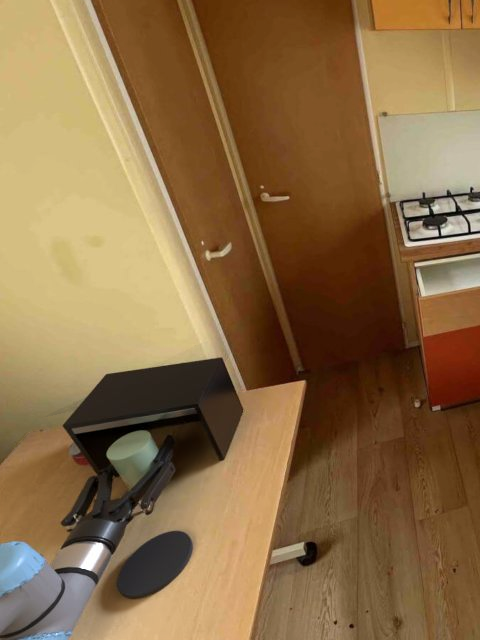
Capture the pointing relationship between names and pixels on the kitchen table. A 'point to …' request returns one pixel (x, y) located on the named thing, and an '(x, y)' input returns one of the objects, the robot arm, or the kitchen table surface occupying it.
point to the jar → (133, 456)
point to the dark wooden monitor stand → (156, 406)
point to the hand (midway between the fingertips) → (151, 442)
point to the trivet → (155, 564)
